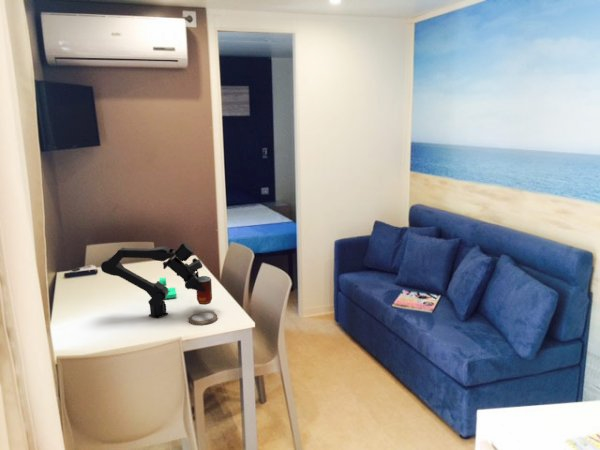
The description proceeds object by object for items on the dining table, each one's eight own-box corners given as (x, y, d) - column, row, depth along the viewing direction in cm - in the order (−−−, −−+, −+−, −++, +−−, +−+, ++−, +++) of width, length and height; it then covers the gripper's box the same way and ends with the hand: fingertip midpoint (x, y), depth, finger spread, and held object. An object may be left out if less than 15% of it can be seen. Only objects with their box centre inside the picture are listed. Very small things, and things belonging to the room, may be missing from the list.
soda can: (198, 299, 240) (197, 275, 237) (213, 299, 240) (212, 275, 237) (195, 305, 233) (194, 280, 230) (211, 305, 233) (210, 280, 231)
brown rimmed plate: (201, 327, 218) (201, 324, 218) (182, 321, 226) (182, 318, 226) (223, 318, 228) (223, 315, 228) (204, 312, 236) (204, 309, 236)
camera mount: (176, 299, 257) (174, 279, 255) (161, 301, 255) (159, 281, 253) (175, 292, 268) (173, 273, 266) (160, 293, 266) (159, 275, 264)
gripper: (191, 259, 222) (217, 282, 226) (191, 250, 240) (215, 271, 244) (173, 278, 222) (200, 300, 226) (175, 267, 240) (200, 287, 244)
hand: (204, 288), depth 235 cm, fingers closed on soda can, 7 cm apart
